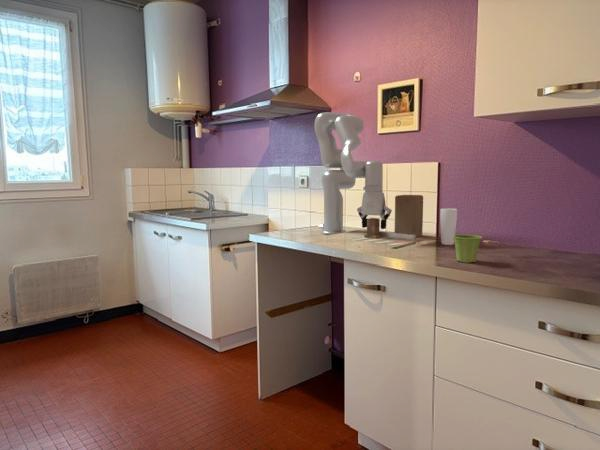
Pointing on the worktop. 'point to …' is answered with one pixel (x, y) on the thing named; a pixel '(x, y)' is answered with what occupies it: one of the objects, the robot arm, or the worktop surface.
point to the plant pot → (466, 247)
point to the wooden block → (409, 214)
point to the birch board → (391, 239)
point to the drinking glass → (448, 225)
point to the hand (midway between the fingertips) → (373, 228)
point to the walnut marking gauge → (373, 228)
